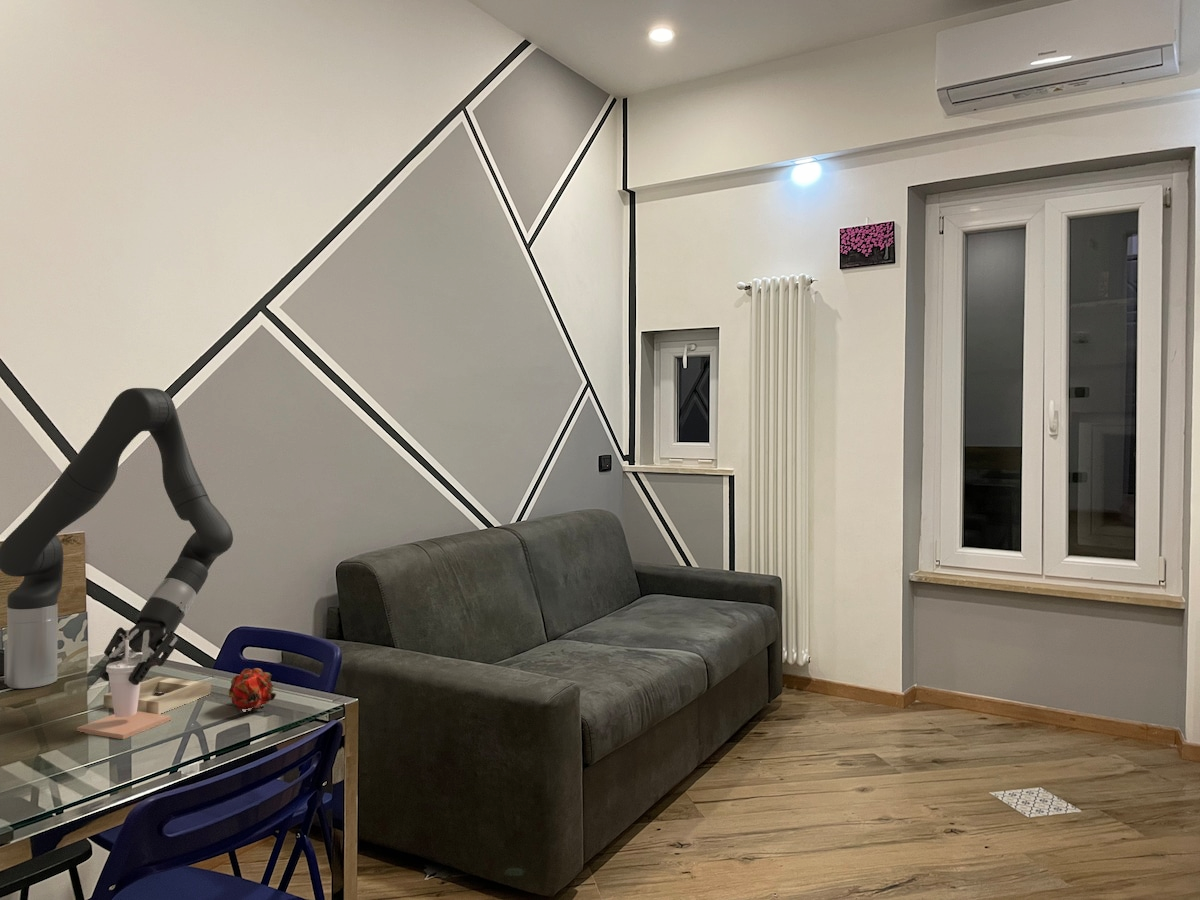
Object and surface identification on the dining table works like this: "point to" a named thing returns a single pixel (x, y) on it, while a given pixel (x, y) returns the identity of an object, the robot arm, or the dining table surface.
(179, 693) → the block
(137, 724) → the coaster
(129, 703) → the smoothie
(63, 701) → the dining table surface
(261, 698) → the dragon fruit
